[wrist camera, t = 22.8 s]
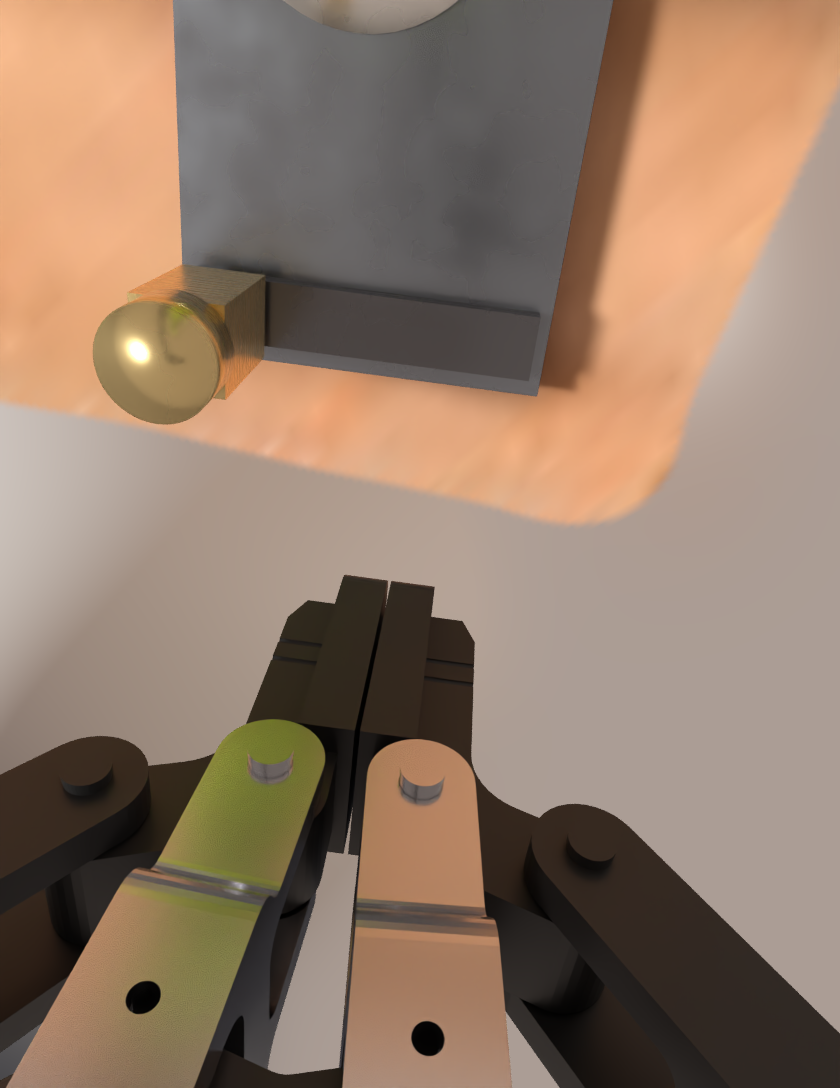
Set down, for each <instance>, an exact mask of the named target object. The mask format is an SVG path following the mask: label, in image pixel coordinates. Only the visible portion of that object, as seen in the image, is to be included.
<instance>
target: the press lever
mask: <svg viewBox="0 0 840 1088" xmlns="http://www.w3.org/2000/svg"><path fill="white" fill-rule="evenodd" d="M265 279H266V275H261V274H253V273H246V272H238V271H231V270H223V269H215V268H208V267H200V266H193V265H185V264H183V265H181V266H179V267H177V268H175V269H173V270H171V271H169V272H167V273H165V274H163V275H161V276H159V277H157V278H155V279H153V280H151V281H149V282H147V283H145V284H143V285H141V286H139V287H137V288H135V289H133V290H131V291H129V292H127V297H128V303H127V304H125V305H123V306H122V307H120V308H118V309H116V310H115V311H113V312H112V313H110V314H109V315H108V316H107V317H106V318H105V319H104V320H103V322H102V323H101V325H100V326H99V328H98V330H97V333H96V335H95V339H94V344H93V360H94V366H95V370H96V373H97V376H98V378H99V380H100V382H101V384H102V386H103V388H104V389H105V391H106V392H107V394H108V395H109V396H110V397H111V399H112V400H113V401H114V402H115V403H116V404H117V405H118V406H120V407H121V408H122V409H123V410H125V411H126V412H127V413H129V414H131V415H133V416H134V417H136V418H139V419H141V420H144V421H147V422H150V423H155V424H175V423H180V422H183V421H186V420H188V419H190V418H192V417H193V416H195V415H196V414H198V413H199V412H200V411H201V410H202V409H203V408H204V407H205V406H206V405H207V404H208V403H209V401H210V400H211V399H212V398H217V399H224V400H226V399H227V397H228V396H229V395H230V394H231V393H232V392H233V391H234V390H235V389H236V388H237V386H238V385H239V384H240V383H241V382H242V381H243V380H244V379H245V378H246V377H247V375H248V374H249V373H250V372H251V371H252V370H253V369H254V368H255V367H256V366H257V365H258V363H259V362H260V361H261V360H262V359H263V358H264V349H265Z"/></svg>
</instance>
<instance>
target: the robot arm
mask: <svg viewBox="0 0 840 1088" xmlns="http://www.w3.org/2000/svg"><path fill="white" fill-rule="evenodd" d="M387 590H388V581H387V580H379V579H372V578H364V577H357V576H350V575H344V577H343V580H342V583H341V586H340V589H339V593H338V596H337V599H336V602H335V604H332V603H324V602H317V601H310V600H308V601H307V602H305V603H304V604H303V605H302V606H301V607H299V608H298V609H297V610H296V611H295V612H294V613H292V614H291V615H290V616H289V617H288V619H287V621H286V624H285V626H284V629H283V631H282V634H281V637H280V641H279V642H278V644H277V647H276V649H275V652H274V654H273V659H272V660H271V662H270V664H269V667H268V670H267V672H266V675H265V677H264V680H263V682H262V685H261V687H260V690H259V693H258V695H257V698H256V700H255V703H254V705H253V708H252V710H251V713H250V715H249V718H248V721H247V723H246V725H243V726H241V727H239V728H237V729H236V730H234V731H233V732H231V733H230V734H229V735H228V736H227V737H226V738H225V739H224V740H223V741H222V742H221V744H220V745H219V747H218V749H217V750H216V752H215V753H214V754H212V755H209V756H207V757H204V758H201V759H197V760H193V761H186V762H178V763H170V764H161V765H152V766H148V762H147V760H146V758H145V755H144V754H143V753H142V751H141V750H140V749H139V748H137V747H136V746H135V745H134V744H132V743H130V742H128V741H126V740H123V739H119V738H115V737H108V736H95V737H86V738H81V739H77V740H74V741H70V742H68V743H65V744H63V745H61V746H58V747H57V748H54V749H52V750H50V751H48V752H46V753H44V754H42V755H40V756H38V757H36V758H34V759H32V760H30V761H28V762H26V763H23V764H21V765H20V766H17V767H15V768H13V769H11V770H9V771H7V772H5V773H3V774H1V775H0V1052H2V1051H3V1050H5V1049H6V1048H8V1047H9V1046H10V1045H12V1044H13V1043H14V1042H16V1041H17V1040H19V1039H20V1038H21V1037H23V1036H24V1035H26V1034H27V1033H28V1032H30V1031H31V1030H33V1029H34V1028H35V1027H37V1026H38V1025H40V1024H41V1023H42V1022H43V1023H42V1025H41V1027H40V1029H39V1030H38V1032H37V1034H36V1036H35V1037H34V1039H33V1041H32V1043H31V1044H30V1046H29V1048H28V1050H27V1052H26V1053H25V1055H24V1057H23V1058H22V1060H21V1062H20V1064H19V1066H18V1067H17V1069H16V1071H15V1073H14V1074H12V1075H10V1076H8V1077H6V1078H4V1079H2V1080H0V1088H512V1081H511V1070H510V1058H509V1047H508V1036H507V1024H506V1013H505V1011H506V1012H507V1014H508V1015H509V1017H510V1018H511V1019H512V1021H513V1022H514V1024H515V1025H516V1027H517V1028H518V1029H519V1031H520V1032H521V1034H522V1035H523V1036H524V1038H525V1039H526V1040H527V1042H528V1043H529V1045H530V1046H531V1048H532V1049H533V1050H534V1052H535V1053H536V1055H537V1056H538V1058H539V1059H540V1060H541V1062H542V1063H543V1065H544V1066H545V1067H546V1069H547V1070H548V1072H549V1073H550V1075H551V1076H552V1077H553V1079H554V1080H555V1081H556V1083H557V1084H558V1086H559V1087H560V1088H840V1033H839V1032H838V1031H837V1030H836V1029H834V1028H833V1027H832V1026H831V1025H830V1024H829V1023H828V1022H827V1021H826V1020H825V1019H824V1018H823V1017H822V1016H821V1015H820V1014H819V1013H818V1012H817V1011H816V1010H815V1009H814V1008H813V1007H812V1006H811V1005H810V1004H809V1003H808V1002H807V1001H806V1000H805V999H804V998H803V997H802V996H801V995H800V994H799V993H798V992H797V991H796V990H795V989H794V988H793V987H792V986H791V985H790V984H789V983H788V982H787V981H786V980H785V979H784V978H782V976H781V975H779V974H778V973H777V972H776V971H775V970H774V969H773V968H772V967H771V966H770V965H769V964H768V963H767V962H766V961H765V960H764V959H763V958H762V957H761V956H760V955H759V954H758V953H757V952H756V951H755V950H754V949H753V948H752V947H751V946H750V945H749V944H748V943H747V942H746V941H745V940H744V939H743V938H742V937H741V936H740V935H739V934H738V933H736V932H735V930H734V929H733V928H732V927H731V926H729V924H728V923H726V922H725V921H724V920H723V919H722V918H721V917H720V916H719V915H718V914H717V913H716V912H715V911H714V910H713V909H712V908H711V907H710V906H709V905H708V904H707V903H706V902H705V901H704V900H703V899H702V898H701V897H700V896H699V895H698V894H697V893H696V892H695V891H694V890H693V889H692V888H691V887H690V886H689V885H688V884H687V883H686V882H685V881H684V880H683V879H681V877H680V876H679V875H677V873H676V872H675V871H673V870H672V869H671V868H670V867H669V866H668V865H667V864H666V863H665V862H664V861H663V860H662V859H661V858H660V857H659V856H658V855H657V854H656V853H655V852H654V851H653V850H652V849H651V848H650V847H649V846H648V845H647V844H646V843H645V842H644V841H643V840H642V839H641V838H640V837H639V836H638V835H637V834H636V833H635V832H634V831H633V830H632V829H631V828H630V827H629V826H627V825H626V824H625V823H624V822H623V821H621V820H620V819H618V818H617V817H615V816H614V815H612V814H610V813H608V812H606V811H604V810H601V809H599V808H596V807H592V806H588V805H581V804H567V805H561V806H557V807H555V808H552V809H550V810H549V811H547V812H545V813H544V814H543V815H542V816H541V817H540V818H538V817H535V816H533V815H530V814H528V813H526V812H523V811H521V810H519V809H516V808H514V807H512V806H510V805H508V804H506V803H504V802H503V801H501V800H500V799H498V798H497V797H495V796H494V795H493V794H492V793H490V792H489V791H488V790H487V789H486V787H485V786H484V785H483V784H482V783H481V781H480V780H479V779H478V777H477V775H476V773H475V771H474V768H473V765H472V760H471V744H472V743H471V742H472V711H473V677H474V669H473V668H474V645H475V642H474V640H473V639H472V637H471V635H470V633H469V632H468V630H467V628H466V626H465V625H464V623H463V622H462V621H457V620H450V619H442V618H435V617H431V613H432V605H433V596H434V587H432V586H425V585H417V584H410V583H402V582H395V581H391V585H390V590H389V595H388V599H387ZM386 600H387V604H386ZM352 808H353V810H352ZM351 813H352V821H351V831H350V841H349V851H348V854H351V855H358V856H359V857H358V868H357V877H356V886H355V894H354V903H353V913H352V926H351V937H350V948H349V960H348V971H347V982H346V994H345V1006H344V1018H343V1028H342V1040H341V1051H340V1062H339V1068H335V1069H328V1070H321V1071H314V1072H306V1073H299V1074H292V1075H283V1074H278V1073H275V1072H271V1071H270V1070H268V1064H269V1058H270V1053H271V1048H272V1044H273V1039H274V1036H275V1032H276V1029H277V1025H278V1022H279V1019H280V1015H281V1012H282V1009H283V1006H284V1002H285V999H286V996H287V992H288V989H289V986H290V983H291V980H292V976H293V973H294V970H295V966H296V963H297V960H298V957H299V953H300V950H301V947H302V944H303V940H304V937H305V934H306V931H307V927H308V924H309V921H310V918H311V914H312V911H313V908H314V904H315V899H316V890H317V888H318V886H319V884H320V881H321V878H322V873H323V868H324V863H325V859H326V854H327V851H328V852H335V853H342V854H343V853H344V848H345V843H346V838H347V833H348V828H349V823H350V818H351Z"/></svg>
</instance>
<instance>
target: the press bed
mask: <svg viewBox="0 0 840 1088" xmlns="http://www.w3.org/2000/svg"><path fill="white" fill-rule="evenodd" d="M612 4H613V0H173V12H174V40H175V68H176V97H177V125H178V153H179V181H180V209H181V237H182V265H183V264H185V265H193V266H200V267H208V268H215V269H223V270H231V271H238V272H246V273H253V274H261V275H266V279H265V349H264V358H263V359H262V360H268V361H275V362H283V363H290V364H298V365H305V366H313V367H320V368H328V369H335V370H343V371H350V372H358V373H365V374H373V375H380V376H387V377H395V378H402V379H410V380H417V381H425V382H432V383H440V384H447V385H455V386H462V387H470V388H477V389H485V390H492V391H500V392H507V393H515V394H522V395H530V396H537V394H538V389H539V384H540V378H541V373H542V368H543V363H544V358H545V352H546V347H547V342H548V337H549V332H550V326H551V321H552V316H553V311H554V306H555V300H556V295H557V290H558V285H559V280H560V274H561V269H562V264H563V259H564V254H565V248H566V243H567V238H568V233H569V228H570V222H571V217H572V212H573V207H574V202H575V196H576V191H577V186H578V181H579V176H580V171H581V165H582V160H583V155H584V150H585V145H586V139H587V134H588V129H589V124H590V119H591V113H592V108H593V103H594V98H595V93H596V87H597V82H598V77H599V72H600V67H601V61H602V56H603V51H604V46H605V41H606V35H607V30H608V25H609V20H610V15H611V9H612Z"/></svg>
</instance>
